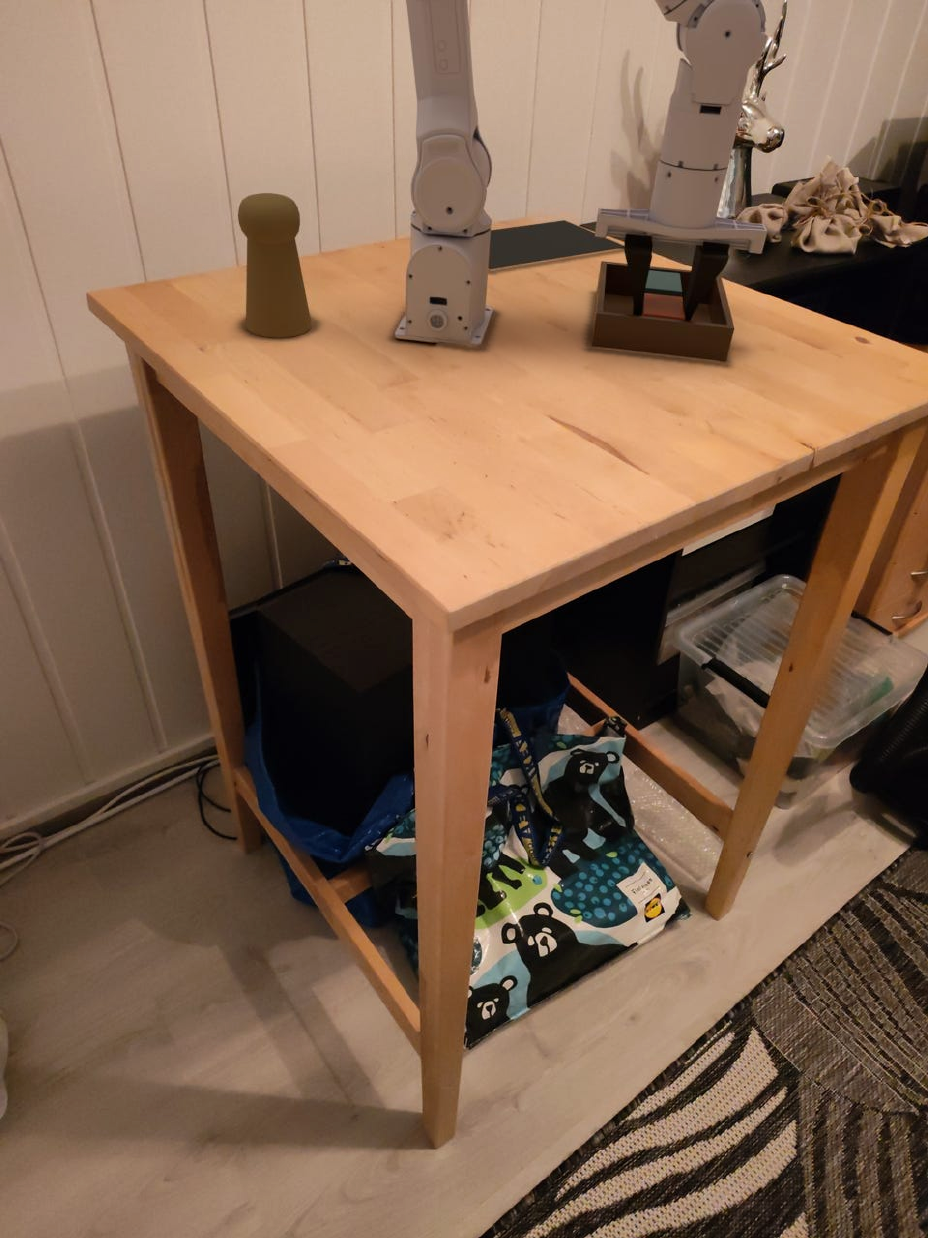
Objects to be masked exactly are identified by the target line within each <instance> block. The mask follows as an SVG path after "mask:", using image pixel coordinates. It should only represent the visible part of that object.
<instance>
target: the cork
mask: <svg viewBox="0 0 928 1238" xmlns="http://www.w3.org/2000/svg"><path fill="white" fill-rule="evenodd" d="M237 222H238V225H239V228H240V230H241V232H242V234H244V236H245V238H246V286H245V292H246V293H245V328H246V329H247V331H248V332H250V333H252V334H253V335H257V336H261V337H266V338H272V339H273V338H274V339H275V338H278V339H282V338H291V337H292V338H293V337H296V336H300V335H303V334H305V333H307V332H308V331H310V329H312V327H313V325H312V324H313V323H312V317H311V313H310V308H309V302H308V298H307V293H306V288H305V283H304V278H303V272H302V268H301V267H302V266H301V262H300V257H299V253H298V252H299V251H298V247H297V241H296V237H297V235H298V234H299V232H300V226H301V214H300V210H299V208H298V205H297V204H296V202H295V201H294V200H293V198H290V197H289V196H287V195H284V194H280V193H273V192H272V193H271V192H261V193H255V194H250V195H248V196H246V197H244V198H243V199H241V201H240V203H239V205H238V210H237Z"/></svg>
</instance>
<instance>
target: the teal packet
mask: <svg viewBox="0 0 928 1238" xmlns="http://www.w3.org/2000/svg"><path fill="white" fill-rule="evenodd" d="M645 293H650V294H659V295H668V296H678V297H681V295H682V287H681V279H680V274H679V273H671V272H661V271H652V270H649V273H648V278H647V283H646V287H645Z"/></svg>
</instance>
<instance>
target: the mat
mask: <svg viewBox="0 0 928 1238" xmlns="http://www.w3.org/2000/svg"><path fill="white" fill-rule="evenodd" d="M619 249H622V250H624V244H621V243H618V242H616V241H614V240H612V239H610V238H607V237H606V238H600V237H595V232H594V231H591V230H588V229H586V228H584V227H582V226H580V225H577V224H574V223H572V222H570V221H568V220H564V219H563V220H557V221H549V222H548V221H547V222H542V223H535V224H527V225H521V226H519V225H518V226H511V227H505V228H498V229H491V238H490V253H489V267H488V270H495V269H501V268H502V269H503V268H507V267H513V266H519V265H520V266H522V265H526V264H532V263H538V262H539V263H540V262H543V261H544V262H545V261H550V260H555V259H563V258H570V257H575V256H581V255H587V254H593V253H600V252H605V251H612V250H619Z"/></svg>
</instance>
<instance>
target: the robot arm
mask: <svg viewBox="0 0 928 1238" xmlns="http://www.w3.org/2000/svg"><path fill="white" fill-rule="evenodd" d="M654 2H655V3H656V5H657V6H658V9H659V10H660V12H661V14H662V15H663V17H664V19H665V20H666V22H674V23H676V26H675V41H676V46H677V49H678V50H679V51H680V52H682V54H683V55H684V57H685V58H686V59H687V60H688V61H687V60H686V59H685V58H683V57H680V58H679V61H678V66H677V72H676V78H675V82H674V89H673V92H672V93H671V95H670V98H669V103H668V108H667V114H666V120H665V125H664V129H663V136H662V140H661V146H660V153H659V157H658V161H657V162H658V163H657V168H656V174H655V179H654V184H653V189H652V194H651V200H650V206H649V208H648V209H647V208H646V209H645V208H644V209H643V208H641V209H640V208H637V209H636V208H635V209H634V208H632V209H631V208H630V209H627V208H625V209H624V208H623V209H622V208H621V209H619V208H602V207H599V208H598V209H597V215H596V222H595V228H594V229H595V230H594V233H595V237H600V238H607V237H614V238H623V239H624V240H623V241H624V242H623V243H624V244H623V246H624V249H623V251H624V256H625V260H626V264H627V265H628V269H629V273H630V278H631V284H632V291H633V303H634V306H633V315H637V316H641V315H642V310H643V302H644V293H645V287H646V283H647V278H648V273H649V269H650V266H651V265H652V261H653V248H654V244H653V241H654V242H662V243H663V242H664V243H673V244H683V245H691V246H695V248H694V254H693V259H692V265H691V274H690V280H689V284H688V288H687V291H686V295H685V298H684V302H683V305H684V312H685V321H691V319H692V316H693V314H694V312H695V310H696V308H697V306H698V305H699V303H700V301H701V299H702V298H703V296H704V294H705V293H706V291H707V290H708V288H709V287H710V286H711V284H712V283H713V282H714V280H715V279H716V278H717V276H718V275H719V274H721V273H722V272H723V271H724V270H725V268H726V266H727V264H728V262H729V258H730V255H729V251H730V249H732V250H743V251H747V252H748V253H751V254H759V255H761V254H762V253H763V249H764V245H765V242H766V238H767V234H768V229H767V226H766V225H765V224H763V223H755V222H748V221H743V220H737V219H731V218H727V217H722V216H718V211H719V207H720V203H721V198H722V196H723V195H722V194H723V190H724V186H725V181H726V177H727V174H728V169H729V165H730V161H731V156H732V153H733V152H732V151H733V149H734V148H733V147H734V143H735V140H736V139H735V138H736V135H737V130H738V125H739V122H740V118H741V113H742V109H743V105H744V104H743V97H744V93H745V89H746V86H747V82H748V75H749V72H750V69H751V68H752V67H753V66H754V65H755V64H756V62H758V60H759V59H760V57H761V55H762V53H763V52H764V49H765V47H766V46H767V42H768V38H769V36H768V34H767V33H766V31H767V30H766V22H767V18H766V12H765V8H764V5H763V3H762V1H761V0H654ZM405 3H406V13H407V23H408V32H409V39H410V41H409V42H410V50H411V59H412V67H413V76H414V77H413V78H414V86H415V94H416V95H415V96H416V121H415V122H416V124H415V139H416V141H415V142H416V151H417V155H416V156H417V157H416V163H415V168H414V170H413V174H412V177H411V181H410V198H411V199H410V200H411V202H412V206H413V208H414V209H413V210H412V211H411V212H412V213H411V214H410V237H409V238H410V239H409V240H410V241H409V242H410V244H409V247H410V248H409V250H410V252H409V259H408V262H407V265H406V270H405V314H404V316H403V318H402V319H401V321H400V322H399V325H398V326H397V328H396V329H395V332H394V337H395V338H396V339H398V340H399V339H400V340H409V341H417V342H426V343H435V344H436V343H447V344H454V345H455V344H456V345H464V346H474V347H479V346H481V345H482V344H483V342H484V338H485V335H486V333H487V330H488V327H489V325H490V322H491V319H492V316H493V313H494V307H492V306H488V305H487V295H488V293H487V292H488V279H489V268H488V267H489V253H490V238H491V230H492V224H493V221H492V220H493V219H492V218H491V216H490V215H489V214H488V213H487V212H486V210H485V205H486V201H487V193H488V187H489V185H490V183H491V179H492V176H493V161H492V157H491V153H490V151H489V148H488V146H487V145H486V143H485V142H484V140H483V138H482V135H481V131H480V126H479V115H478V107H477V102H476V96H475V87H474V76H473V62H472V47H471V46H472V45H471V35H470V32H471V31H470V19H469V5H468V0H405Z"/></svg>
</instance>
